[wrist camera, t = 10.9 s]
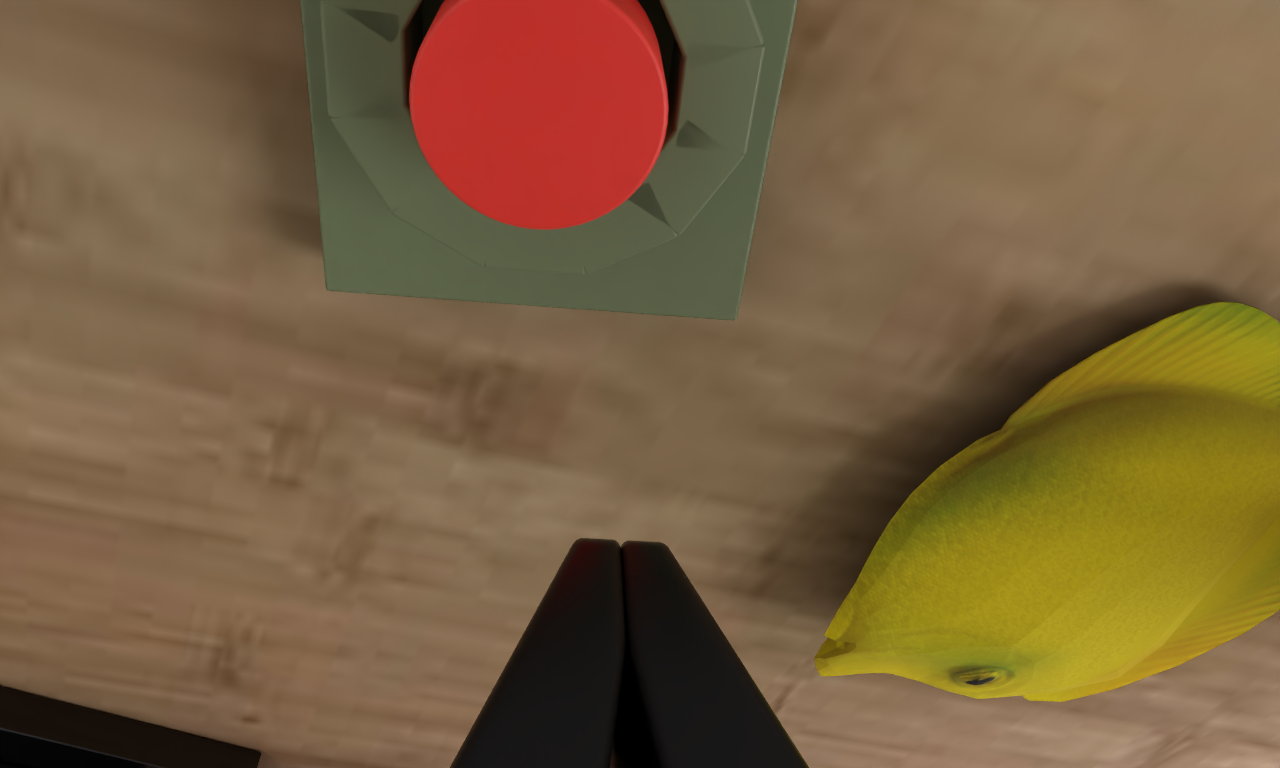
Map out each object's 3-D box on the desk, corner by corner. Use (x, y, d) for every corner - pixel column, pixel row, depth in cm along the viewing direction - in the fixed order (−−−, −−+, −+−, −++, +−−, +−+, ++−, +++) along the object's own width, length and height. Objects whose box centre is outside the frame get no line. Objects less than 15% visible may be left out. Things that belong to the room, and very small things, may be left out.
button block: (729, 292, 20) (748, 373, 18) (339, 262, 20) (301, 343, 17) (836, -287, 15) (885, -285, 12) (289, -360, 14) (223, -373, 11)
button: (648, 193, 16) (653, 241, 15) (428, 174, 16) (411, 221, 14) (676, -38, 14) (685, -9, 13) (423, -65, 14) (403, -38, 12)
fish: (740, 638, 22) (969, 838, 26) (1409, 195, 18) (1566, 516, 22) (726, 560, 25) (937, 754, 29) (1311, 153, 20) (1468, 449, 24)
